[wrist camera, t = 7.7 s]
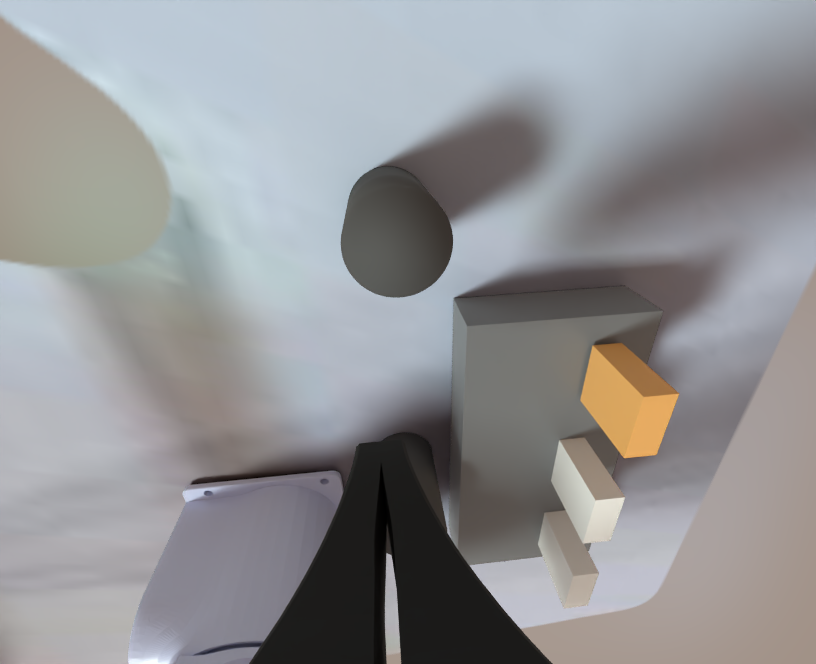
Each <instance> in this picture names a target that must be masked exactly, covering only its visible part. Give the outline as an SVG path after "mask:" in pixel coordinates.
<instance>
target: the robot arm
mask: <svg viewBox="0 0 816 664" xmlns="http://www.w3.org/2000/svg"><path fill="white" fill-rule="evenodd" d="M183 496H184V499H185V501H186V504H185V506H184V508H183V510H182V512H181V515H180V517H179V519H178V521H177V523H176V525H175V527H174V530H173V532H172V534H171V536H170V538H169V540H168V543H167V545H166V547H165V549H164V551H163V553H162V555H161V558H160V560H159V562H158V564H157V566H156V568H155V571H154V573H153V575H152V577H151V579H150V581H149V583H148V586H147V588H146V590H145V592H144V594H143V597H142V599H141V602H140V604H139V607H138V610H137V613H136V616H135V620H134V624H133V628H132V632H131V637H130V643H129V651H128V664H386V642H385V579H386V546H387V526H388V533H389V540H390V546H391V553H392V560H393V567H394V574H395V580H396V587H397V599H398V615H399V632H400V648H401V664H552V663H551V662H550V661H549V660H548V659H547V658H546V657H545V656H544V655H543V654H542V652H541V651H540V650H539V649H538V648H537V647H536V646H535V645H534V644H533V643H532V642H531V641H530V639H529V638H528V637H527V636H526V635H525V634H524V633H523V632H522V630H521V629H520V628H519V627H518V626H517V625H516V624H515V622H514V621H513V620H512V619H511V618H510V617H509V616H508V614H507V613H506V612H505V611H504V610H503V608H502V607H501V606H500V605H499V603H498V602H497V601H496V600H495V598H494V597H493V596H492V595H491V593H490V592H489V591H488V590H487V588H486V587H485V586H484V585H483V583H482V582H481V581H480V580H479V578H478V577H477V576H476V574H475V573H474V571H473V570H472V569H471V567H470V566H469V565H468V563H467V562H466V560H465V559H464V558H463V556H462V555H461V553H460V552H459V550H458V549H457V547H456V546H455V544H454V543H453V541H452V540H451V538H450V537H449V535H448V533H447V532H446V530H445V529H444V527H443V525H442V523H441V522H440V520H439V518H438V517H437V515H436V513H435V511H434V510H433V508H432V506H431V504H430V502H429V500H428V498H427V497H426V495H425V493H424V491H423V489H422V487H421V485H420V483H419V480H418V478H417V476H416V474H415V471H414V469H413V467H412V464H411V461H410V459H409V456H408V453H407V449H406V445H405V442H404V441H402V440H392V441H382V442H371V443H361V444H359V445H358V446H357V447H356V452H355V457H354V461H353V465H352V468H351V472H350V475H349V478H348V481H347V484H346V487H345V489H344V490H343V485H342V479H341V475H340V473H339V472H337V471H324V472H314V473H304V474H294V475H284V476H274V477H264V478H254V479H244V480H234V481H224V482H214V483H204V484H194V485H188V486H187V487H185V489H184V492H183Z"/></svg>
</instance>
